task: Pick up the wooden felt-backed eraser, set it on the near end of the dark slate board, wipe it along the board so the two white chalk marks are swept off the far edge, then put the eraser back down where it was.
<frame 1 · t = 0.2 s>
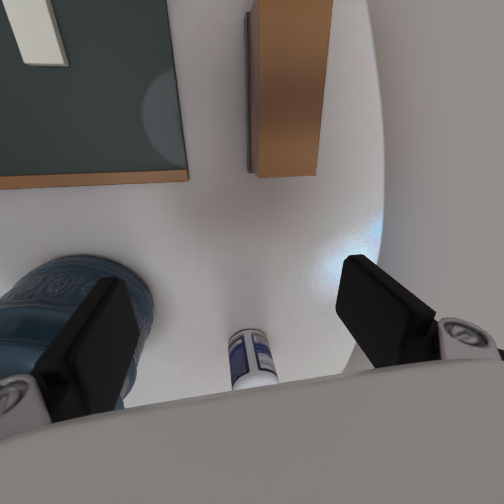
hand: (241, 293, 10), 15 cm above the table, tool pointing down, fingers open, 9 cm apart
pill bottle: (247, 342, 33), on the table
board: (19, 72, 17), on the table
canister: (95, 303, 27), on the table
chalk mark A: (40, 34, 16), point 1 cm above the table, touching board
eraser: (274, 104, 21), on the table
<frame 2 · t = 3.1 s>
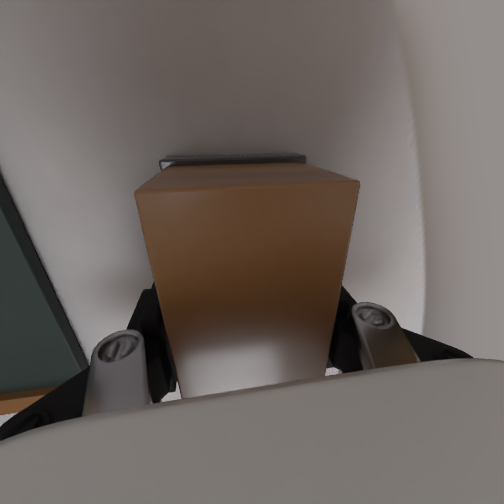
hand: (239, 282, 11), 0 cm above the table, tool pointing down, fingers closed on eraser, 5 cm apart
eraser: (238, 277, 12), on the table, touching gripper
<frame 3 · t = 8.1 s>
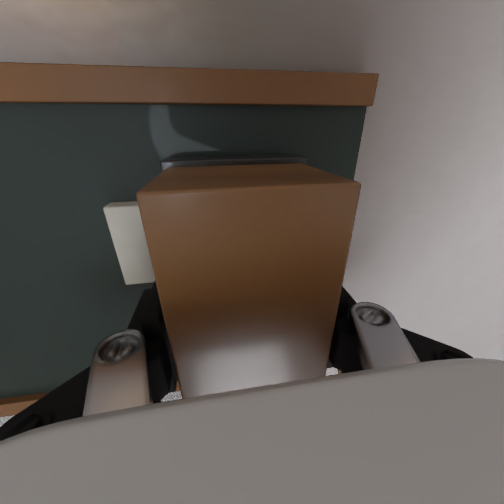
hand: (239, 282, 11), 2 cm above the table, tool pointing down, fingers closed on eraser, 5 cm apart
board: (121, 273, 12), on the table
chalk mark A: (151, 239, 11), point 1 cm above the table, touching board, eraser, gripper
eraser: (238, 278, 12), point 1 cm above the table, touching chalk mark A, gripper
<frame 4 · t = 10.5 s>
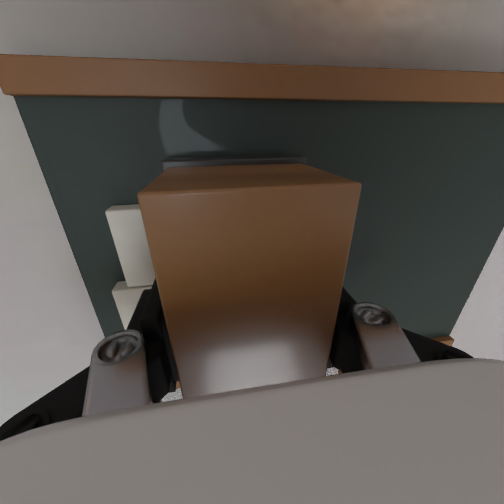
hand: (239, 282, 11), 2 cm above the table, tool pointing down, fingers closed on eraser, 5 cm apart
board: (308, 255, 13), on the table
chalk mark A: (152, 242, 11), point 1 cm above the table, touching board, eraser, gripper
eraser: (239, 278, 12), point 1 cm above the table, touching chalk mark A, gripper
chalk mark B: (152, 307, 12), point 1 cm above the table, touching board, gripper
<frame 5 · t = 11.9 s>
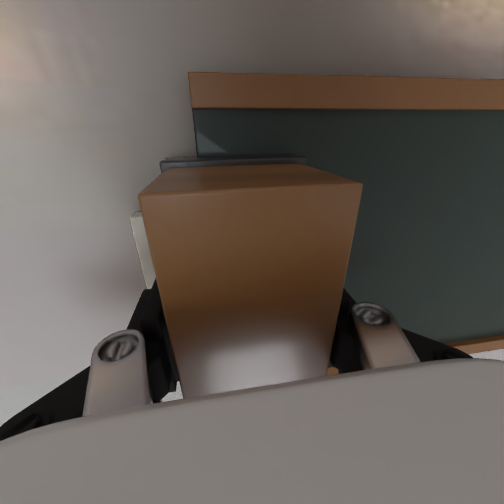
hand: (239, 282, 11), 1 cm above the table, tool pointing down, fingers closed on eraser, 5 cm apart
board: (407, 255, 13), on the table
chalk mark A: (171, 246, 11), on the table
eraser: (238, 278, 12), point 1 cm above the table, touching gripper
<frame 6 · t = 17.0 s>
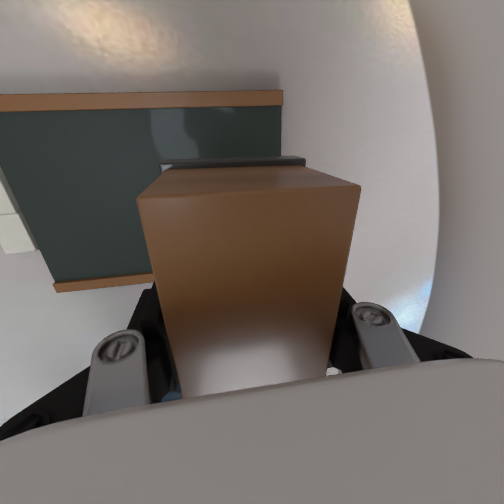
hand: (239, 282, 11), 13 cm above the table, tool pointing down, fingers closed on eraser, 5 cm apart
board: (160, 199, 22), on the table
eraser: (237, 279, 12), point 13 cm above the table, touching gripper
chalk mark B: (17, 231, 21), on the table
when the fingers open (0 cm above the table, at t = 21.4 s): eraser stays where it is, on the table.
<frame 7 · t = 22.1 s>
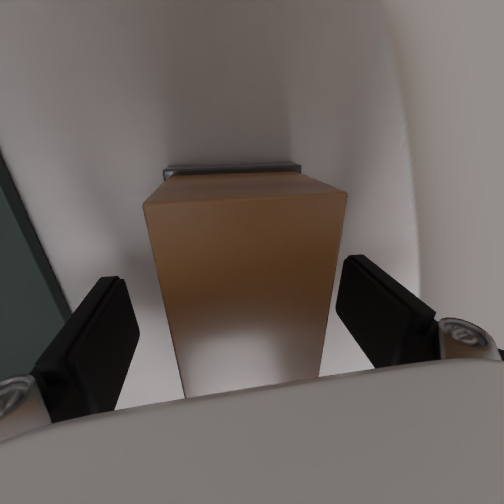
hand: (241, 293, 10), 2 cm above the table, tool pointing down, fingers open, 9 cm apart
eraser: (237, 279, 12), on the table
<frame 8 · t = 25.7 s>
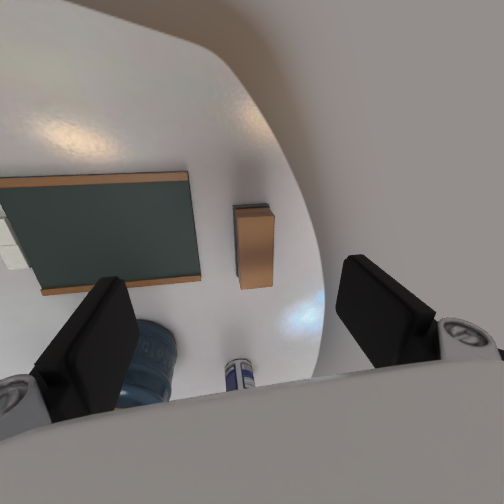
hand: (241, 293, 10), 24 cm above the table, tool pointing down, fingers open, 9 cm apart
pill bottle: (238, 367, 48), on the table
board: (112, 235, 33), on the table
canister: (139, 346, 42), on the table
chalk mark A: (3, 230, 30), on the table
eraser: (251, 240, 36), on the table
chalk mark B: (17, 255, 32), on the table
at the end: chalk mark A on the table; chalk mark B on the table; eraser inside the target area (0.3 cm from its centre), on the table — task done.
